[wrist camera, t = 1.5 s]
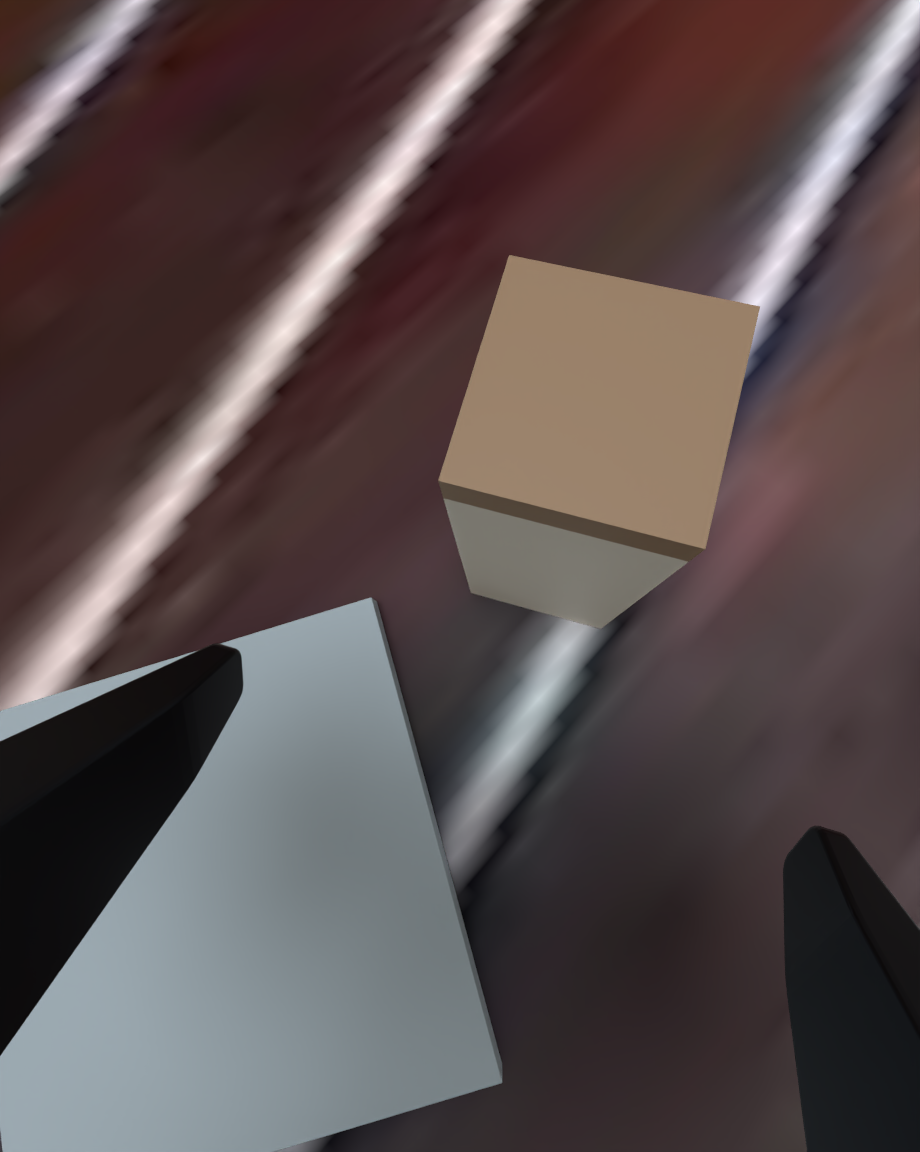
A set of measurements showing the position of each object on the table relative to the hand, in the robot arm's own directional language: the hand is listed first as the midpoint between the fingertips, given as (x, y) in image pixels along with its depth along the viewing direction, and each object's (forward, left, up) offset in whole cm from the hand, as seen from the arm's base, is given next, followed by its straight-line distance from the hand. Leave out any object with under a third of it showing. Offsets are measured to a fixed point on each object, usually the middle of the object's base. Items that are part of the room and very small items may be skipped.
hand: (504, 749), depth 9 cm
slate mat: (-2, +11, -13) cm, 17 cm away
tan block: (+6, -4, -13) cm, 15 cm away
